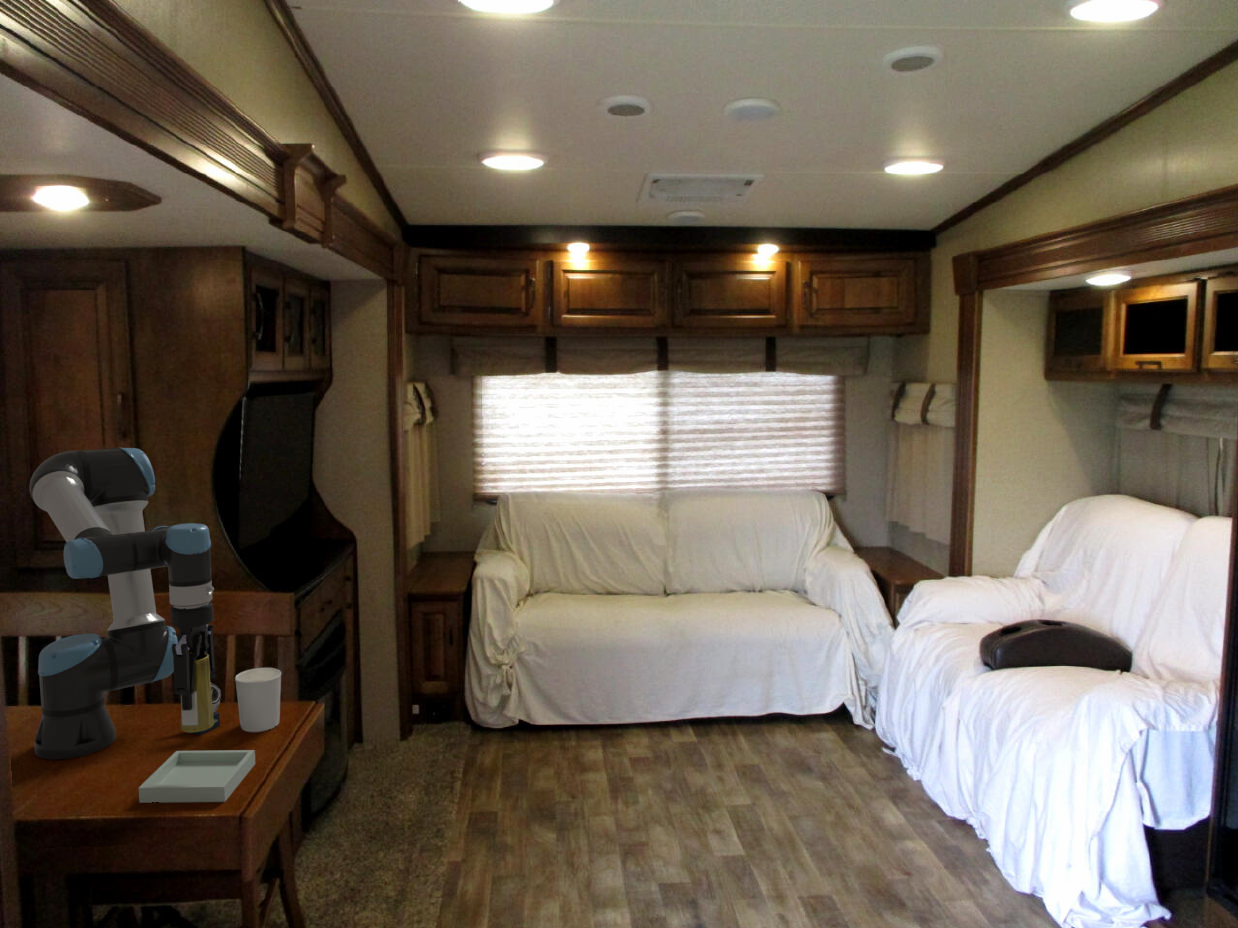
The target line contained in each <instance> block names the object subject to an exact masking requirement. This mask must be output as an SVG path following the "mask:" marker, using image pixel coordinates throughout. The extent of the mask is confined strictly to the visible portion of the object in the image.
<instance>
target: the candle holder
mask: <svg viewBox="0 0 1238 928" xmlns="http://www.w3.org/2000/svg"><path fill="white" fill-rule="evenodd" d="M281 676H282V671H281V670H279V669H278V668H274V667H256V668H251V669H246V670H244V671H241V672H239V673H238V674H236V675H235V678H234V680H235V686H236V697H237V706H238V713H239V714H238V715H239V724H240V728H241V730H242V731H244V732H247V733H260V732H266V731H268V730H269V729H270V730H272V729H274V728H276V727H277V726H278V725H279V724H280V721H281V720H280V719H281V718H280V717H281V716H280V715H281V685H282V684H281V683H282V682H281V681H282V680H281V679H282V677H281ZM275 726H276V727H275Z"/></svg>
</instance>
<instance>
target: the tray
mask: <svg viewBox="0 0 1238 928" xmlns="http://www.w3.org/2000/svg"><path fill="white" fill-rule="evenodd" d="M255 765H256V750H255V749H253V750H252V749H247V750H246V749H240V750H239V749H238V750H236V749H235V750H233V749H231V750H228V749H227V750H220V749H219V750H218V749H217V750H215V749H214V750H176V751H174V752H173V753H172V755H171V756H169V757H168V759H166V761H164V762H163V763H162V764H161V765H160V766H159V767H158V768H157V769H156V770H155V771H154V772H153V773H152V774H151V775H150V776H149V777H148V778H147V779H146V780H145V781H144V782H143V783H142V784H141V785H140V786H138V802H139V804H140V803H142V804H143V803H147V804H148V803H150V804H151V803H152V802H154V803H155V802H159V803H225V802H226V801H227V800H228V799H229V797H230V796H231V795H232V794H233V792H234V791H235V790H236V789H237V788H238V787H239V785H240V784H241V783H242V781H243V780H244V779H245V778H246V776H247V775H248V774H249V772H251V770H252V768H254V766H255ZM152 804H153V803H152Z"/></svg>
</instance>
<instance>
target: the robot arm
mask: <svg viewBox="0 0 1238 928" xmlns="http://www.w3.org/2000/svg"><path fill="white" fill-rule="evenodd" d="M155 483H156V478H155V472H154V468H153V466H152V464H151V461H150V459H149V457H148V456H147V454H146V453H145V452H144V451H142V449H139V448H137V447H136V448H135V447H115V448H114V447H112V448H98V449H87V450H86V449H85V450H67V451H63V452H59V453H56V454H54V455H52V456H49V458H47V459H45V460H43V462H42V463H40V464H39V466H37V468H36V469H35V471H33V473H32V476H31V478H30V482H29V494H30V497H31V498H32V500H33V502H34V503H35V505H36V506H37V507H38V509H41V510H42V511H43V512H47V513H48V515H49V517H50V518H51V520H52V522H53V523H54V525H55V526H56V528H57V529H58V531H59V533H60V534H61V536H62V537H63V539H64V541H65V542H66V543H65V544H64V548H63V563H64V567H65V570H66V573H67V575H68V576H69V577H70V578H71V579H74V580H76V579H79V580H80V579H88V578H89V579H94V578H98V577H103V576H104V577H106V576H107V579H108V589H109V596H110V601H111V609H112V616H113V621H112V623H111V624H110V626H109V627H108V628H107V629H106V630H107V637H106V638H102V637H101V636H100V635H99V634H98V633H93V632H92V633H91V632H90V633H89V632H87V633H79V634H74V635H70V636H65V637H63V638H61V639H58V640H55V641H52V642H51V643H49V644H47V645H46V646H45V647H43V648H42V650H41V651H40V652H39V655H38V668H37V669H38V670H37V674H38V675H39V688H40V690H39V691H40V705H41V719H40V722H39V724H38V728H37V731H36V735H35V738H34V742H33V743H34V744H33V746H34V755H36V756H37V758H40V759H44V760H68V759H74V758H79V757H84V756H88V755H90V754H94V753H96V752H99V751H102V750H104V749H106V748H108V747H109V746H111V745H112V744H113V743H114V742H115V741H116V740H117V739H116V738H117V737H116V734H117V733H116V727H115V725H114V722H113V720H112V718H111V715H110V713H109V711H108V710H107V707H106V703H105V694H106V693H108V692H112V691H117V690H121V689H125V688H130V687H135V686H140V685H144V684H152V683H154V682H156V681H157V682H158V681H159V680H160V681H161V680H164V679H166V678H169V677H170V676H171V675H172V674H173V690H174V691H173V692H174V694H175V695H180V704H181V705H180V706H181V709H180V711H181V710H182V725H197V724H198V711H197V691H194V685H195V671H196V658H197V659H201V658H203V657H204V656H205V655H204V654H205V653H206V654H208V655H209V667H210V680H211V679H215V678H216V673H215V671H216V666H215V665H216V664H215V650H214V649H215V648H214V637H213V636H214V624H211V623H212V622H213V621H214V604H213V603H212V600H213V592H214V591H215V588H214V586H213V584H212V583H213V580H212V579H213V578H212V557H211V556H212V551H211V547H212V540H211V537H210V536H211V535H210V528H209V527H208V526H207V525H206V524H203V523H195V522H194V523H192V522H191V523H189V522H188V523H178V524H175V525H160V526H156V527H154V528H152V530H145V522H144V521H145V520H144V515H143V511H144V509H145V508H146V507H147V506H148V504H149V497H151V496H153V495H154V494H155V491H156V485H155ZM165 567H166V568H168V572H167V573H168V588H169V589H168V590H169V592H168V593H169V604H170V605H171V607H170V624H171V626H169V625H166V619H165V618H164V617H163V616H161V615H159V614H158V613H157V607H156V601H155V594H154V588H153V587H154V586H153V579H152V572H151V570H152V569H158V568H159V569H160V568H165ZM172 626H173V627H172ZM174 627H175V628H177V629H179V633H178V634H179V635H178V636H177V635H176V634H177V632H176V629H175V628H174Z"/></svg>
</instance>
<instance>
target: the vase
mask: <svg viewBox="0 0 1238 928" xmlns="http://www.w3.org/2000/svg"><path fill="white" fill-rule="evenodd" d="M204 655H205V656H204V657H203V658H201V659H197V658H196V671H195V685H194V691H197V711H198V724H197V725H182V710H181V709H180V711H181V712H180V713H181V714H180V730H181V731H183V732H185V733H188V732H199V731H204V730H206V729H209V728H211V727H212V726H213V725H214V718H213V709H212V694H211V684H212V682H211V679H210V667H209V655H208V654H206V653H205V654H204Z"/></svg>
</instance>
